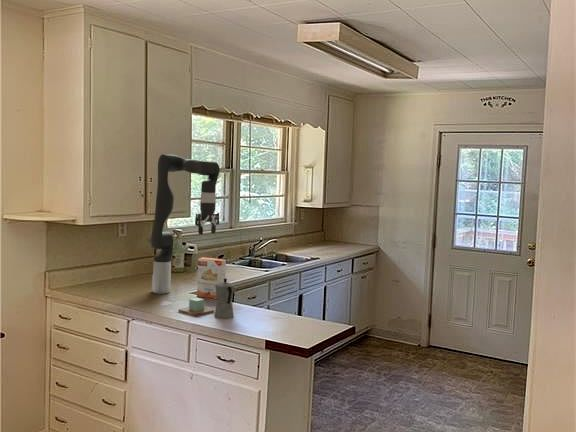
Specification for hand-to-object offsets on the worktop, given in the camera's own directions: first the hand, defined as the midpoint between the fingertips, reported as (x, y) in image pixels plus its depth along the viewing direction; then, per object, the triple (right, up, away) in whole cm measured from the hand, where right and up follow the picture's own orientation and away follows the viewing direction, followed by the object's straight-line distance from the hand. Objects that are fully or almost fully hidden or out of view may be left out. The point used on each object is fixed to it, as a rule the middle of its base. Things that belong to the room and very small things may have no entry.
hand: (206, 233), depth 286 cm
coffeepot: (+11, -39, -18) cm, 44 cm away
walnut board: (-3, -37, -12) cm, 39 cm away
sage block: (-3, -36, -12) cm, 38 cm away
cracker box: (-1, -35, +20) cm, 40 cm away
